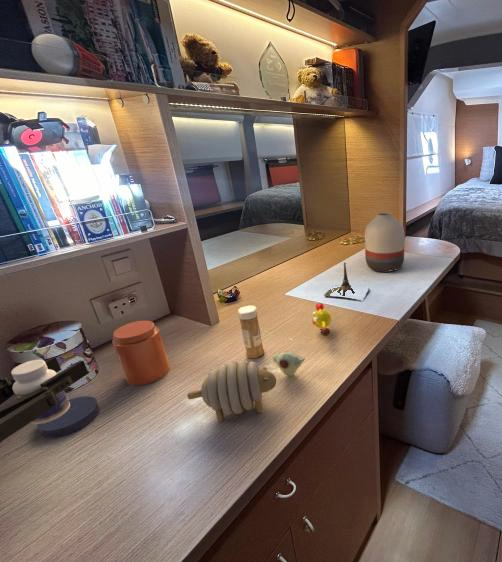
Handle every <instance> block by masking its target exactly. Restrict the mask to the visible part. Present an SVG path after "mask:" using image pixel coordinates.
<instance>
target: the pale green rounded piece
mask: <svg viewBox="0 0 502 562" xmlns="http://www.w3.org/2000/svg"><path fill="white" fill-rule="evenodd" d="M272 358H273V359H272V361H273V362H274V363H275V364H276V365H277V366H278V368H279V370H280V372H282V373H283V374H284V375H285V376H294V375H295V374H296V372H297V370H298V369H299V368H300V367H301V366H302V364H303V363H304V362H305V360H306V357H304V356H300V355H298V354H296V353H294V352H291V351H283V352H280V353H276V354H275V353H274V354H273V356H272Z"/></svg>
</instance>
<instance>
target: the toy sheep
mask: <svg viewBox="0 0 502 562" xmlns="http://www.w3.org/2000/svg"><path fill="white" fill-rule="evenodd" d="M276 386H277V378H276V375H275V374H273V372H271V371H269V370H268V369H267V367H266V366H262V368H260V367H259V365H258V363H257V362H256V361H250V362H249V363H248V362H247V361H246V360H241V361H240V362H237V361H236V360H232V361H231V362H229V363H228V364H224V363H223V364H221V365H220V366H219V367H218V369H216V368H215V369H212V370H210V371H209V372H208V374H207V376H206V377H205V378H204V380H203V382H202V384H201V388H200V389H196V390H192V391H189V392H188V393H187V399H188V400H193V399H199V398H202V401H203V402H204V404H205V405H206V406H208V407H209V408H211V409H212V410H213V411H215V416H216V419H217V422H218V423H222V422H224V421H225V415H227V416H229V415H232V414H233V413H234V414H235V415H240V414H242V413H243V412H244V411H245V410H247V411H249V410H251V409H253V407H254V404H255V408H256V412H257V414H258V413H259V414H260V413H262V412H264V407H263V403H262V398H263V393H268V392H269V391H272V390H273V389H274V388H275V387H276ZM224 414H225V415H224Z"/></svg>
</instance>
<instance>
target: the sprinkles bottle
mask: <svg viewBox="0 0 502 562" xmlns="http://www.w3.org/2000/svg"><path fill="white" fill-rule="evenodd" d="M237 316H238V319H239V322H240V327H241V328H240V329H241V333H242V338H243V344H244V347H245V352H246V353H245V354H246V357H247V358H249V359H257V358H260V357H261V356H263V354H264V353H265V350H264V345H263V340H262V334H261V329H260V323H259V318H258V309H257V307H256V306H255V305H244V306H241V307H240V308H239V309H237Z"/></svg>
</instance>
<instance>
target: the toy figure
mask: <svg viewBox="0 0 502 562" xmlns="http://www.w3.org/2000/svg"><path fill="white" fill-rule="evenodd" d="M324 307H325V306H324V304H323V303H321V302H319V303H317V304H316V305H315V309H316V311H313V312H312V316H313V317H312V321H311V322H312V323H311V324H312V325H313V326H316V327H317V328H319V331H320V330H321V331H320V334H321V336H323V337H329V336H330V335H331V330H330V328H329V327H328V326H329V325H330V324H331V322H332V316H331V313H330V312H329V311H327V310H325V309H324Z"/></svg>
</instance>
